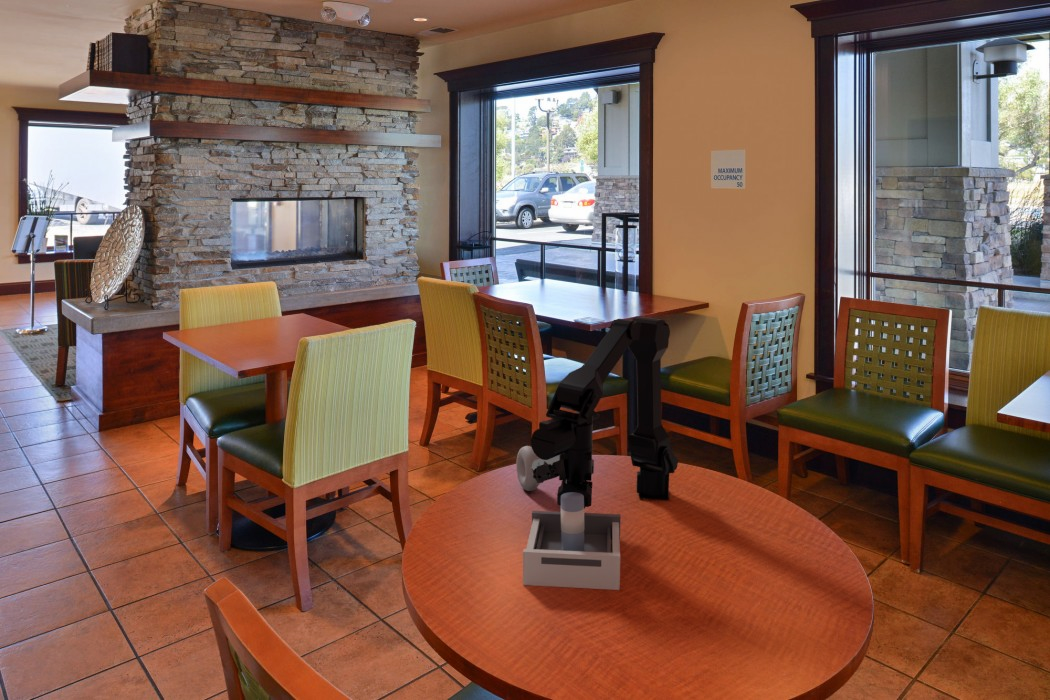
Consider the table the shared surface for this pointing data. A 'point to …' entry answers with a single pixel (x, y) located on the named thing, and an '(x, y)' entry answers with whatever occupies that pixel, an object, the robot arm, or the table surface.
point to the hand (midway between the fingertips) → (575, 521)
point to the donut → (526, 468)
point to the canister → (572, 521)
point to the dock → (571, 565)
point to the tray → (594, 531)
